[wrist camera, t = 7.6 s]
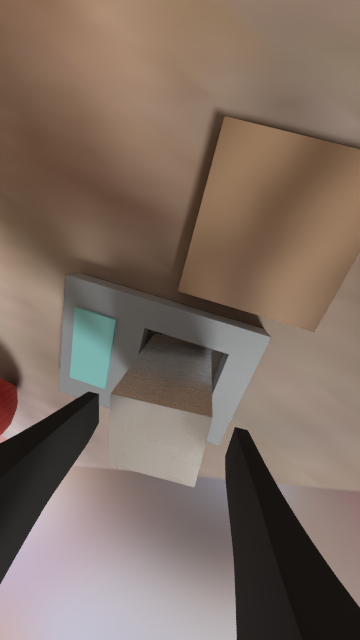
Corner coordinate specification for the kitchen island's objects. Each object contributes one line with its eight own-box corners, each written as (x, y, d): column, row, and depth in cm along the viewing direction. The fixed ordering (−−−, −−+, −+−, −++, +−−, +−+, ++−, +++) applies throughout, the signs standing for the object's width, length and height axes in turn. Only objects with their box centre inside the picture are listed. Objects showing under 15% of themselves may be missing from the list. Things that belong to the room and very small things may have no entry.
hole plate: (264, 328, 13) (272, 338, 12) (217, 429, 17) (218, 447, 15) (79, 272, 14) (63, 274, 12) (71, 380, 17) (56, 392, 16)
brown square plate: (391, 171, 10) (410, 161, 9) (306, 326, 13) (314, 332, 12) (223, 129, 10) (224, 116, 9) (179, 288, 13) (177, 291, 12)
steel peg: (210, 344, 14) (212, 417, 8) (200, 391, 16) (194, 487, 9) (154, 333, 15) (110, 393, 8) (149, 379, 16) (108, 464, 9)
